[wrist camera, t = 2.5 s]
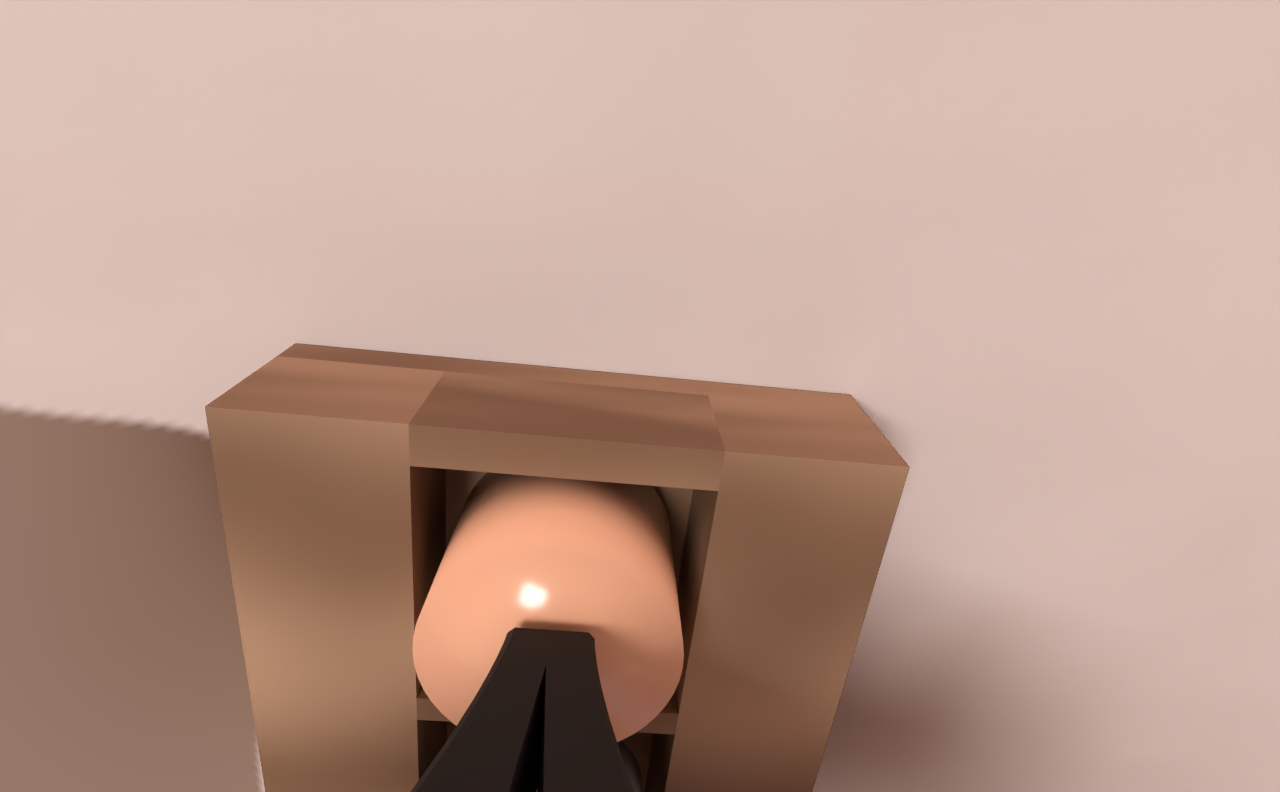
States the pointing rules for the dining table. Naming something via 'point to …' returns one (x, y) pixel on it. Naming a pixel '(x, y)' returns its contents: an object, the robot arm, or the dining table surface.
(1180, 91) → the dining table surface
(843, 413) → the brown wooden flat frame
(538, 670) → the robot arm
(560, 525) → the peach rounded block
